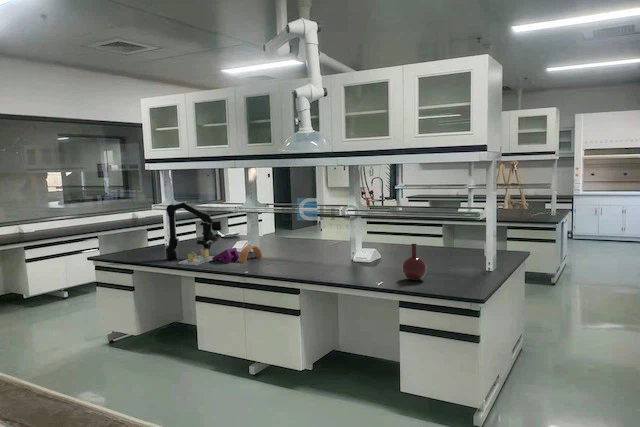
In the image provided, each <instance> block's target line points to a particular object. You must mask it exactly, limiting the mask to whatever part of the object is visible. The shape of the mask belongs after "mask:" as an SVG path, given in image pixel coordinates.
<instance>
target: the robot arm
mask: <svg viewBox="0 0 640 427" xmlns="http://www.w3.org/2000/svg"><path fill="white" fill-rule="evenodd" d="M181 209H183V210H185V211H187V212H189V213H190V214H193V215H195V216H196V217H198V218H199V219H200V220H201V222H200V224H199V226H202V233H201V235H203V236H202V238H201V239H198V240H196V245H201V246H203V248H204V247H206V249H209V251H210V249H211V246H212V245H213V244H214V243H215V242H218V241H219V239H220V234H219V233H216V234H214V233H213V232H212V230H213V231H214V232H216V231H222V222H221V221H220V220H218V221H214V220H213V219H212V218H211V215H210V213H207V212H205V211H200V210H199V209H197V208H194V207H193V206H191V205H190V204H187V203H186V202H184V201H183V202H181V203H176V204H172V203H170V204H169V205H167V206H166V213H167V216H168V224H169V240H168V246H167V247H166V248H165V255H166V256H165V257H166V258H165V259H164V260H165V261H175V260H178V257H177V250H176V249H177V248H178V247H179V244H180V240H179V239H180V238H177V230H176V213H177V210H181Z"/></svg>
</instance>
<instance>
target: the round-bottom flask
mask: <svg viewBox="0 0 640 427" xmlns="http://www.w3.org/2000/svg"><path fill="white" fill-rule="evenodd" d="M417 245H418V244H417V243H411V244H410V246H411V247H410V248H411V256H409V257H407V258H406V259H404V260H403V262H402V265H401V271H402V274H403V276H404V277H405V278H406V279H407V280H410V281H413V280H414V281H415V280H416V281H419V280H421V279H423V278H424V277H425V275H426V273H427V264H426V262H425V261H424V259H423V258H422V257H419V256H417Z"/></svg>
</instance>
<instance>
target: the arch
mask: <svg viewBox="0 0 640 427" xmlns="http://www.w3.org/2000/svg"><path fill="white" fill-rule="evenodd" d="M251 250H252V251H253V254H254V257H255V258H257V259H262V258H263V253H262V251H261V248H259V246H256V245H246V246H244V247H243V248H242V249H241V252H240V253H239V258H238V263H240V264H247V259H248V255H249V252H250V251H251Z"/></svg>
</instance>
